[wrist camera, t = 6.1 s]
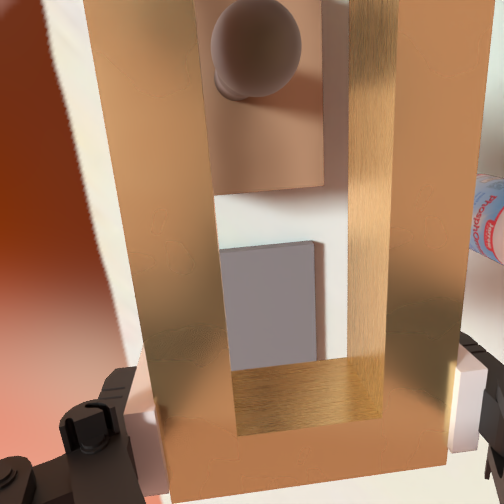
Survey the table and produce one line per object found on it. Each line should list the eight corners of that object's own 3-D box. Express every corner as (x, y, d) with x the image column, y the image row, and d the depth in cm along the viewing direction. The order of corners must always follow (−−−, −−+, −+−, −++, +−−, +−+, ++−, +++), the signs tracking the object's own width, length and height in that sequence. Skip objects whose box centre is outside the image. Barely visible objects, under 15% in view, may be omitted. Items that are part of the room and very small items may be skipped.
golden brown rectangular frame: (432, -160, 10) (523, -274, 7) (400, 398, 15) (446, 464, 12) (88, -152, 9) (34, -273, 6) (179, 426, 14) (171, 504, 11)
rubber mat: (310, 240, 35) (313, 243, 34) (314, 388, 40) (317, 394, 39) (169, 254, 34) (168, 258, 33) (190, 404, 39) (190, 411, 38)
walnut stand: (290, -15, 29) (438, -253, 10) (297, 170, 33) (412, 234, 15) (147, -8, 28) (36, -252, 10) (172, 181, 32) (127, 263, 14)
